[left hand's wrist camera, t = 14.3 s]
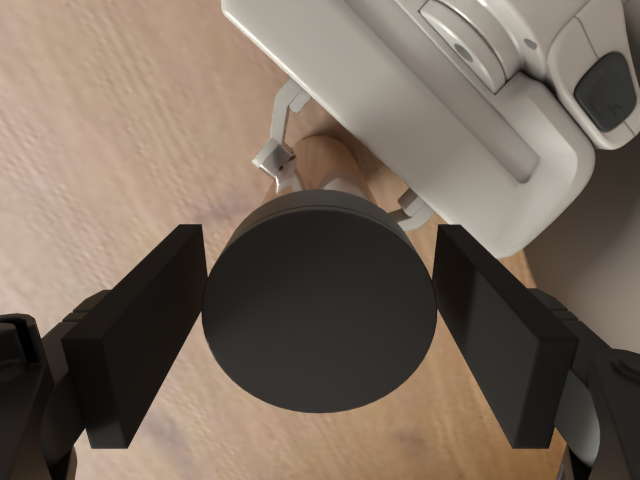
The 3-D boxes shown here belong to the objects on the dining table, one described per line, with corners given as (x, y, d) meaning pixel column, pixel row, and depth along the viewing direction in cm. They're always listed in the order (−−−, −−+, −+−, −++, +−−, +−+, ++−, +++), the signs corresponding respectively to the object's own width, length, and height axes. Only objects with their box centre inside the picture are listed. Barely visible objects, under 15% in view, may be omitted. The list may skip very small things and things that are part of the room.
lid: (189, 219, 11) (162, 247, 9) (396, 163, 11) (414, 179, 9) (257, 382, 13) (246, 432, 11) (433, 342, 13) (454, 388, 11)
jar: (272, 146, 28) (188, 249, 10) (346, 125, 27) (397, 193, 9) (294, 216, 30) (256, 409, 12) (364, 198, 29) (434, 370, 11)
